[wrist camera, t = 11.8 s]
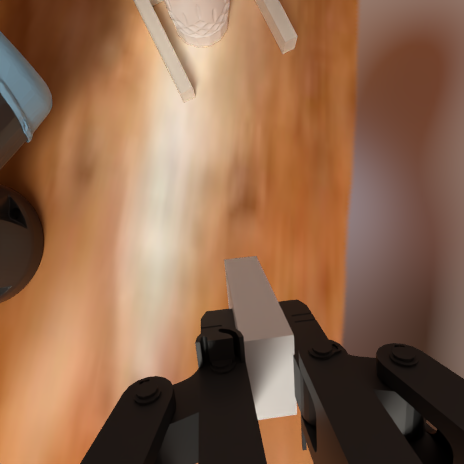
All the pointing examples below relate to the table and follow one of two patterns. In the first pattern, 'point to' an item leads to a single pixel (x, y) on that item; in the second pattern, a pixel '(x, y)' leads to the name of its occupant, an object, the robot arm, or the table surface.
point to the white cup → (199, 20)
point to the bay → (266, 4)
